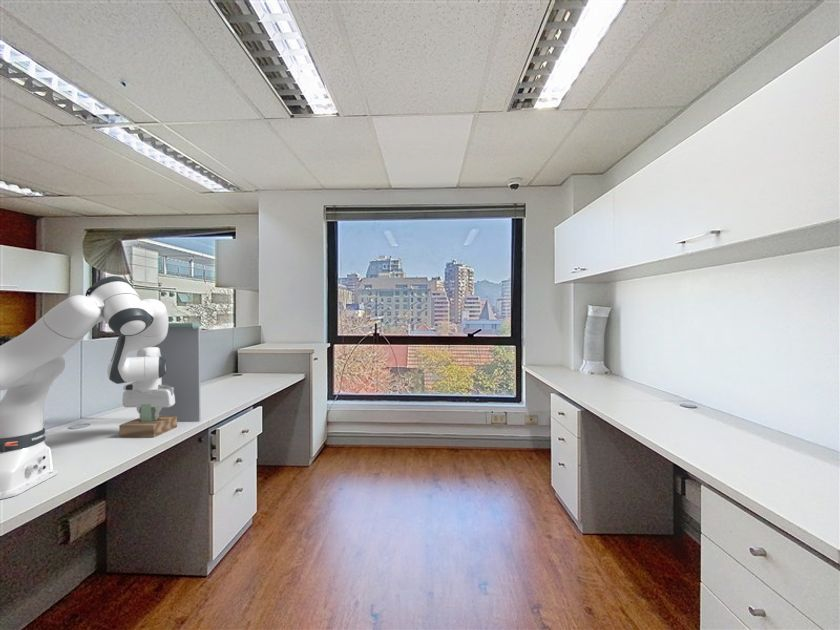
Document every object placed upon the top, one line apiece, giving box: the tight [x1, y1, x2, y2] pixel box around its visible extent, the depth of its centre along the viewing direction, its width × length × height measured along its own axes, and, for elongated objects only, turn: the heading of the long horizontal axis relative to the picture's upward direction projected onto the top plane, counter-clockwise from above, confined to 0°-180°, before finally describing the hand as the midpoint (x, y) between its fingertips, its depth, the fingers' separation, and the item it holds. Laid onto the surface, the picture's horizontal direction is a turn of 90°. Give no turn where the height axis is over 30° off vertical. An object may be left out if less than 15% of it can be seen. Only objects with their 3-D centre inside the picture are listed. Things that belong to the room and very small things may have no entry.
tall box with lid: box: [153, 322, 202, 423], centre depth 171 cm, size 6×24×46 cm, turn 89°
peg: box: [141, 404, 158, 422], centre depth 158 cm, size 4×4×10 cm
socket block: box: [118, 416, 178, 439], centre depth 158 cm, size 14×14×5 cm
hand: (149, 417), depth 158 cm, fingers open, 4 cm apart
